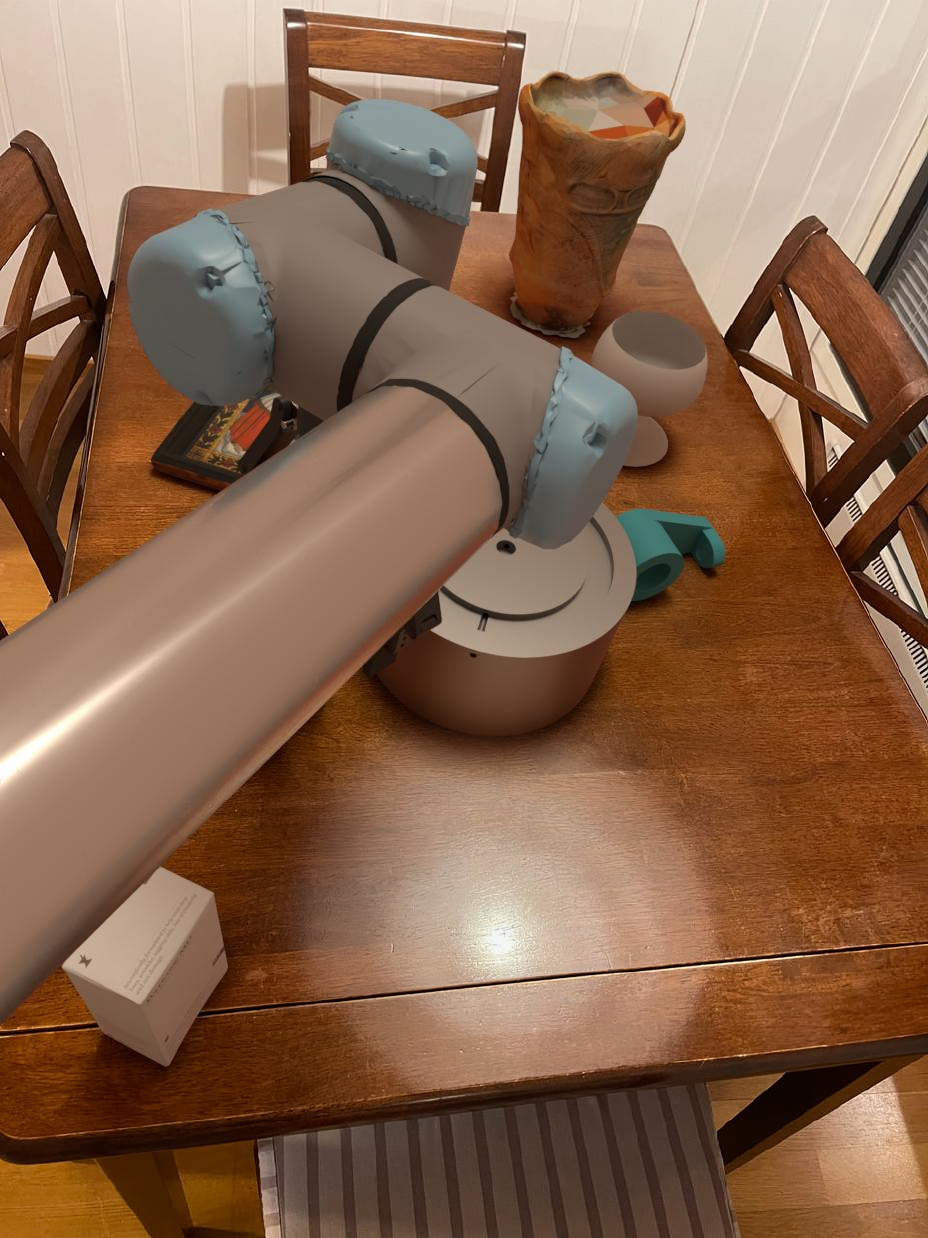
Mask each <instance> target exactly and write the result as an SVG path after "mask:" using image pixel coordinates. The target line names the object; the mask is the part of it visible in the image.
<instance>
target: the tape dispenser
mask: <svg viewBox="0 0 928 1238" xmlns="http://www.w3.org/2000/svg"><path fill="white" fill-rule="evenodd" d="M615 517H616V518H617V519H618V521H619V522H620V524H621V525H622V527H623V529H624V530H625V532H626V534H627V536H628V538H629V541H630V543H631V546H632V548H633V552H634V556H635V561H636V573H637V574H636V585H635V590H634V594H633V597H632V600H631V602H638V601H643V600H646V599H649V598H652V597H654V596H656V595H658V594H659V593H662V592H663V591H664V590H666V589H668V587H670V586H671V585H672V584H673V583H674V582H675V581H676V580H678V578H679V577H680V576H681V574H682V572H683V571H684V568H685V558H684V557H683V555H685V554H690V555H691V556H692V558H693V559H694V560H695V562H696V563H697V564H698V565H699V566H700V567H701V568H703V569H712V568H716V567H720V566H722V565H724V564H725V562H726V561H725V560H726V548H725V545H724V542H723V540H722V538H721V536H720V535H719V534H718V532H717V531H716V529H715V528H714V526H713V525H712V523H710V521H709V519H708V518H707V517H706V516H699V515H690V514H685V513H684V514H683V513H677V512H670V511H663V510H655V509H648V508H634V509H630V510H627V511H624V512H622V513H620V514H618V515H615Z"/></svg>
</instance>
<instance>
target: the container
mask: <svg viewBox="0 0 928 1238" xmlns="http://www.w3.org/2000/svg"><path fill="white" fill-rule="evenodd" d="M636 574H637V573H636V561H635V556H634V552H633V548H632V546H631V543H630V541H629V538H628V536H627V534H626V532H625V530H624V529H623V527H622V525H621V524H620V522H619V521H618V519H617V518H616V515H615V514H614V513H613V512H612V511H611V510H610V508H609V507H608V506H607V505H606V504H605V503H604V501H603V502H602V503H601V505H600V506H599V508H598V509H597V511H596V512H595V514H594V515H593V517H592V518H591V520H590V521H589V522H588V523H587V525H586V526H585V527H584V528H583V530H582V531H581V532H580V533H579V534H578V535H577V536H576V537H575V538H574V539H573V540H572V541H571V542H568V543H566V544H564V545H562V546H560V547H559V548H557V549H542V548H540V547H538V546H535V545H533V544H531V543H529V542H526V541H524V540H522V539H520V538H517V539H515V538H513V537H511V536H510V535H509V532H508V531H507V530H506V529H504V528H503V529H502V530H501V531H499V532H498V533H497V534H495V535H494V536H493V537H492V538H491V539H490V540H489V541H488V542H487V543H486V544H485V545H484V546H483V547H482V548H481V549H480V550H479V551H478V552H477V553H476V554H475V555H474V556H473V557H472V558H471V559H470V560H469V561H468V562H467V563H466V564H465V565H464V566H463V567H462V568H461V569H460V570H459V571H458V572H457V573H456V574H455V575H454V576H453V577H452V578H451V579H450V580H449V581H448V582H447V583H445V584H444V585H443V586H442V587H441V588H440V589H439V590H438V592H439V600H440V608H441V616H442V622H441V624H440V625H438V626H436V627H435V628H433V629H431V630H430V631H428V632H426V633H425V634H423V635H421V636H420V637H418V638H416V639H411V638H410V641H409V644H408V645H407V646H405V647H404V648H402V649H401V650H399V651H398V653H397V657H396V660H395V662H394V663H393V664H391V665H389V666H388V667H386V668H384V669H383V670H381V671H379V672H378V673H376V674H375V675H376V677H377V678H378V679H379V680H380V682H381V683H382V685H383V686H384V687H385V688H386V690H388V692H389V693H390V694H391V695H392V696H393V697H394V698H395V700H397V701H398V702H399V703H400V704H402V705H403V706H405V707H406V708H407V709H408V710H410V711H411V712H412V713H414V714H416V715H418V716H419V717H421V718H423V719H424V720H427V721H428V722H430V723H433V724H435V725H437V726H439V727H442V728H445V729H448V730H449V731H450V730H451V731H454V732H458V733H463V734H466V735H471V736H478V737H479V736H480V737H509V736H510V737H512V736H518V735H522V734H523V735H524V734H528V733H532V732H535V731H537V730H540V729H543V728H545V727H547V726H549V725H552V724H554V723H556V722H557V721H559V720H561V719H562V718H563V717H565V716H566V715H568V714H569V713H570V712H572V710H573V709H575V707H577V705H578V704H580V702H581V701H582V700H583V699H584V697H585V696H586V695H587V693H588V691H589V689H590V687H591V685H592V683H593V681H594V679H595V677H596V675H597V674H598V672H599V669H600V667H601V665H602V662H603V660H604V658H605V656H606V655H607V651H609V648H610V646H611V644H612V642H613V640H614V637H615V636H616V633H617V631H618V629H619V627H620V625H621V623H622V621H623V619H624V617H625V614H626V612H627V610H628V609H629V606H630V604H631V602H632V601H631V600H632V597H633V594H634V590H635V585H636Z"/></svg>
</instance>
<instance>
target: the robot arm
mask: <svg viewBox="0 0 928 1238" xmlns="http://www.w3.org/2000/svg"><path fill="white" fill-rule="evenodd" d="M325 160H326V167H325V171H323V172H321V173H316V174H314V175H312V176H309V177H306V178H304V179H303V180H302V181H300V182H296V183H294V184H291V185H290V184H289V185H287V186H284V187H281V188H277V189H275V190H270V191H269V192H265V193H262V194H259V195H255V196H252V197H248V198H246V199H242V200H239V201H235V202H233V203H229V204H226V205H223V206H219V207H216V208H212V207H211V208H208V209H202V211H200V212H197V213H196V214H194V216H193V217H192V219H190V220H187V221H184V222H182V223H180V224H178V225H175V226H173V227H170V228H168V229H166V230H163V231H161V232H158V233H156V234H154V235H152V236H150V237H149V238H148V239H146V240H145V241H144V242H143V243H142V244H141V245H140V246H139V248H137V250H136V251H135V254H134V255H133V257H132V258H131V261H130V264H129V267H128V271H127V278H126V279H127V280H126V289H127V296H128V300H129V304H128V312H129V318H130V320H131V321H130V322H131V325H132V327H133V330H134V333H135V335H136V337H137V340H138V342H139V344H140V346H141V348H142V350H143V351H144V354H145V356H146V357H147V359H148V360H149V362H150V363H151V365H152V366H153V368H154V369H155V370H156V372H157V373H158V374H159V375H160V376H161V378H162V379H163V380H164V381H165V382H166V383H167V384H168V385H169V386H170V387H171V388H172V389H173V390H175V391H176V392H177V393H178V394H180V395H182V396H183V397H184V398H186V399H187V400H190V401H191V402H196V403H199V404H202V405H210V406H213V405H215V406H230V405H233V404H236V403H239V402H241V401H244V400H247V399H249V400H253V399H255V398H256V397H257V396H259V395H261V394H262V392H263V391H265V390H273V391H274V392H276V393H278V394H280V395H282V396H279V397H276V398H274V400H273V403H272V408H271V413H270V418H269V420H268V422H267V423H266V424H265V426H264V427H263V429H262V430H261V431H260V433H259V434H258V436H257V437H256V438H255V440H254V441H253V442H252V444H251V445H250V447H249V448H248V449H247V451H246V452H245V454H244V455H243V456H242V458H241V459H240V461H239V462H238V468H239V471H240V473H241V474H242V475H243V477H241V478H240V479H238V480H237V481H235V482H234V483H233V484H231V485H230V486H228V487H227V488H225V489H224V490H222V491H219V492H218V493H216V494H214V495H213V496H212V497H211V498H210V497H209V499H207V500H206V501H205V502H203V503H201V504H200V505H198V506H197V507H195V508H194V509H193V510H191V511H190V512H188V513H187V514H185V515H184V516H182V517H181V518H179V519H178V520H176V521H174V522H173V523H172V524H170V525H169V526H167V527H166V528H164V529H163V530H162V531H160V532H158V533H157V534H156V535H154V536H153V537H152V538H150V539H148V540H146V542H143V544H141V545H140V546H138V547H137V548H135V549H133V550H132V551H131V552H129V553H127V554H126V555H125V556H123V557H121V558H120V559H118V560H117V561H115V562H114V563H113V564H111V565H110V566H109V567H107V568H105V569H104V570H102V571H101V572H100V573H98V574H97V575H95V576H93V577H92V578H90V579H89V580H88V581H86V582H85V583H83V584H82V585H80V586H79V587H77V588H76V589H74V590H73V591H71V592H70V593H68V594H67V595H65V596H64V597H62V598H61V599H60V600H58V601H57V602H55V603H54V604H53V605H51V606H50V607H48V608H47V609H45V610H43V611H41V612H40V613H39V614H38V615H36V616H35V617H33V618H32V619H30V620H29V621H27V622H26V623H24V624H23V625H21V626H20V627H18V628H17V629H15V630H14V631H12V632H11V633H10V634H8V635H6V636H5V637H4V638H2V639H1V640H0V1026H2V1025H3V1023H4V1022H5V1021H7V1019H9V1017H10V1016H12V1015H13V1014H14V1013H15V1012H16V1011H17V1010H18V1009H19V1008H20V1007H21V1005H23V1004H24V1003H25V1002H26V1001H27V1000H28V999H29V998H30V997H31V996H32V995H33V994H34V993H35V992H36V991H37V990H38V989H39V988H40V987H41V986H42V985H43V984H44V983H45V982H46V981H47V980H48V979H49V978H50V977H51V976H52V975H53V974H54V973H55V972H56V971H57V970H58V969H59V968H60V967H62V965H63V963H64V962H65V961H66V960H67V959H68V958H69V957H70V956H71V955H72V954H73V953H74V952H75V951H76V950H77V949H78V948H79V947H80V946H81V945H82V944H83V943H84V942H85V941H86V940H87V939H88V938H89V937H90V936H91V935H92V934H93V933H94V932H95V931H96V930H97V929H98V928H99V927H100V926H101V925H102V924H103V923H104V922H105V921H106V920H107V919H108V918H109V917H110V916H111V915H112V914H113V913H114V912H115V911H116V910H117V909H118V908H119V907H120V906H121V905H122V904H123V903H124V902H125V901H126V900H127V899H128V898H129V897H130V896H131V895H132V894H133V893H134V892H135V891H136V890H137V889H138V888H139V887H140V886H141V885H142V884H143V883H144V882H145V881H146V880H147V879H148V878H149V877H150V876H151V875H152V874H153V873H154V872H155V871H156V870H157V869H158V868H159V867H160V866H161V867H162V866H163V865H164V864H165V863H166V862H167V861H168V860H169V859H170V858H171V857H172V856H173V855H174V854H175V853H176V851H178V850H179V849H180V848H181V847H182V846H183V845H185V843H186V842H187V841H188V840H189V839H190V838H191V837H192V836H193V835H194V834H195V833H196V832H197V831H198V830H199V829H200V828H201V827H202V826H203V825H204V824H205V823H206V822H207V821H208V820H209V819H210V818H211V817H212V816H213V815H214V814H215V813H216V812H217V811H218V810H219V809H220V808H221V807H222V806H224V804H225V803H226V802H227V801H228V800H229V799H230V798H231V797H232V796H233V795H235V793H237V791H238V790H239V789H240V788H241V787H243V785H244V784H245V783H246V782H247V781H248V780H250V779H251V777H252V776H253V775H254V774H256V772H257V771H259V769H260V768H261V767H262V766H264V764H265V763H267V761H268V760H269V759H270V758H271V757H272V756H273V755H275V754H276V752H277V751H278V750H280V748H281V747H283V745H285V744H286V743H287V742H288V741H289V740H290V739H291V737H293V736H294V735H295V734H296V733H297V731H299V730H300V729H301V728H302V727H303V726H304V725H305V724H306V723H307V722H308V721H309V720H310V719H311V718H312V717H313V716H314V715H315V714H316V713H317V712H318V711H319V710H320V709H321V708H322V707H323V706H324V705H325V704H326V703H327V702H328V701H329V700H330V699H331V698H332V697H333V696H334V695H335V694H336V693H337V692H338V691H339V690H340V689H341V688H342V687H343V686H345V684H346V683H347V682H348V681H350V679H351V678H352V677H353V676H354V675H355V674H356V673H357V672H358V671H359V670H360V669H361V668H362V671H361V672H362V673H363V674H364V675H365V676H366V677H367V678H368V679H370V678H371V677H373V676H375V675H377V674H376V673H378V672H379V671H381V670H383V669H384V668H386V667H388V666H389V665H391V664H393V663H394V662H395V660H396V657H397V653H398V651H399V650H401V649H402V648H404V647H405V646H407V645H408V644H409V641H410V638H411V639H416V638H418V637H420V636H421V635H423V634H425V633H426V632H428V631H430V630H431V629H433V628H435V627H436V626H438V625H440V624H441V622H442V616H441V608H440V600H439V592H438V590H439V589H440V588H441V587H442V586H443V585H444V584H445V583H447V582H448V581H449V580H450V579H451V578H452V577H453V576H454V575H455V574H456V573H457V572H458V571H459V570H460V569H461V568H462V567H463V566H464V565H465V564H466V563H467V562H468V561H469V560H470V559H471V558H472V557H473V556H474V555H475V554H476V553H477V552H478V551H479V550H480V549H481V548H482V547H483V546H484V545H485V544H486V543H487V542H488V541H489V540H490V539H491V538H492V537H493V536H494V535H495V534H497V533H498V532H499V531H501V530H502V529H503V528H504V529H506V530H507V531H508V532H509V535H510V536H511V537H513V538H515V539H517V538H520V539H522V540H524V541H526V542H529V543H531V544H533V545H535V546H538V547H540V548H542V549H557V548H559V547H560V546H562V545H564V544H566V543H568V542H571V541H572V540H573V539H574V538H575V537H576V536H577V535H578V534H579V533H580V532H581V531H582V530H583V528H584V527H585V526H586V525H587V523H588V522H589V521H590V520H591V518H592V517H593V515H594V514H595V512H596V511H597V509H598V508H599V506H600V505H601V503H602V502H603V503H604V501H605V498H606V497H607V496H608V494H609V492H610V490H611V489H612V487H613V485H614V483H615V481H616V480H617V478H618V476H619V474H620V472H621V470H622V469H623V466H624V465H623V464H624V462H625V459H626V457H627V455H628V452H629V450H630V447H631V445H632V442H633V439H634V436H635V432H636V428H637V422H638V411H637V405H636V402H635V400H634V398H633V396H632V395H631V393H630V392H629V391H628V390H627V389H626V388H625V387H624V386H622V385H621V384H619V383H617V382H616V381H614V380H613V379H611V378H609V377H608V376H606V375H604V374H603V373H601V372H600V371H598V370H596V369H595V368H593V367H592V366H591V364H588V363H587V362H585V361H584V360H583V359H580V358H579V357H577V356H575V355H574V354H573V352H572V350H571V349H570V348H568V347H565V346H560V347H558V346H556V345H554V344H552V343H551V342H548V341H546V340H544V339H542V338H541V337H538V336H537V335H535V334H533V333H531V332H530V331H529V332H528V331H527V330H525V329H524V328H521V327H519V326H518V325H515V324H513V323H511V322H509V321H507V320H506V319H503V318H501V317H499V316H498V315H496V314H494V313H492V312H490V311H488V310H486V309H484V308H482V307H481V306H478V305H476V304H474V303H472V302H470V301H468V300H466V299H465V298H462V297H461V296H459V295H456V293H453V292H451V291H450V289H451V285H452V282H453V278H454V273H455V270H456V266H457V263H458V259H459V255H460V251H461V247H462V243H463V240H464V236H465V232H466V229H467V227H469V226H470V222H471V217H470V214H471V208H472V203H473V196H474V190H475V184H476V179H477V172H478V167H479V165H478V164H479V159H478V153H477V150H476V147H475V145H474V143H473V141H472V140H471V138H470V137H469V136H468V134H467V133H466V132H465V131H464V130H463V129H462V128H461V127H459V125H457V124H455V123H454V122H452V120H449V119H447V118H446V117H444V116H442V115H440V114H438V113H436V112H434V111H432V110H430V109H428V108H425V107H421V106H420V105H415V104H412V103H409V102H403V101H401V100H393V99H387V98H386V99H385V98H364V99H360V100H356V101H353V102H351V103H348V104H346V105H345V106H343V108H342V109H341V111H340V112H339V114H337V116H336V118H335V119H334V121H333V126H332V131H331V135H330V140H329V144H328V146H326V150H325ZM298 433H299V435H300V438H299V439H298V440H296V441H295V442H293V443H292V444H290V443H291V442H292V441H293V439H294V438H295V437H296V436H297V434H298ZM289 444H290V445H289Z"/></svg>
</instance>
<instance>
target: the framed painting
mask: <svg viewBox="0 0 928 1238" xmlns="http://www.w3.org/2000/svg"><path fill="white" fill-rule="evenodd" d="M279 396H282V395H280V394H278V393H276V392H274V391H273V390H265V391H263V392H262V394H261V395H259V396H257V397H256V398H255V399H253V400H249V399H247V400H244V401H241V402H239V403H236V404H233V405H230V406H215V405H213V406H210V405H202V404H199V403H196V402H194V401H192V404H191V405H190V406H189V407H188V409H187V410H186V411H185V413H183V415H182V416H181V417H180V418H179V419H178V420H177V422H176V423H175V424H174V425H173V427H172V429H171V430H170V431H169V433H168V434H167V435H166V436H165V438H164V439H163V440H162V442H161V443H160V444H159V445H158V447H157V448H156V450H155V451H154V452H153V454H152V456H151V458H150V464H151V466H152V467H153V469H154V470H156V471H158V472H159V473H163V474H165V475H169V476H171V477H175V478H178V479H181V480H184V481H187V482H190V483H194V484H197V485H201V486H203V487H205V488H210V489H213V490H216V491H219V492H221V491H222V490H224V489H225V488H227V487H228V486H230V485H231V484H233V483H234V482H235V481H237V480H238V479H240V478H241V477H243V475H242V474H241V473H240V471H239V468H238V462H239V461H240V459H241V458H242V456H243V455H244V454H245V452H246V451H247V449H248V448H249V447H250V445H251V444H252V442H253V441H254V440H255V438H256V437H257V436H258V434H259V433H260V431H261V430H262V429H263V427H264V426H265V424H266V423H267V422H268V420H269V418H270V413H271V408H272V403H273V400H274V398H276V397H279ZM299 438H300V435H299V433H298V434H297V436H296V437H295V438H294V439H293V441H292V442H291V443H290V444H292V443H293V442H295V441H296V440H298V439H299ZM290 444H289V445H290Z"/></svg>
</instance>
